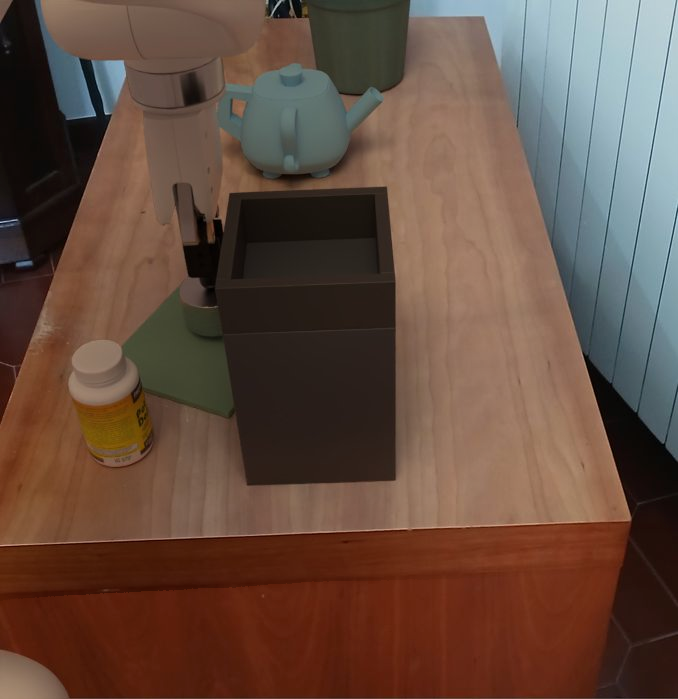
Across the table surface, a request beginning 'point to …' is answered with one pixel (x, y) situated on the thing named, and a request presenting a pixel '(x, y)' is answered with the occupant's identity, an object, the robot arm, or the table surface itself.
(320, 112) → the teapot
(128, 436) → the supplement bottle
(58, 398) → the table surface
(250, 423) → the black box
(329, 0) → the flower pot
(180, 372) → the green mat
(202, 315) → the meat pounder
